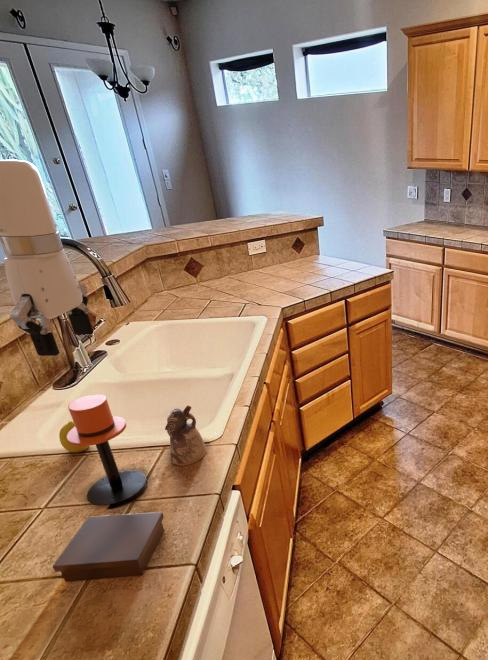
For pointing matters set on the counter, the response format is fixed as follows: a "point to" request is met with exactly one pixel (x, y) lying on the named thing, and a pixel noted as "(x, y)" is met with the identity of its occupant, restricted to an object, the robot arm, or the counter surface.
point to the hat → (93, 421)
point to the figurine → (184, 437)
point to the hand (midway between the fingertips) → (67, 344)
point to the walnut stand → (111, 547)
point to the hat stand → (115, 482)
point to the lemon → (64, 441)
